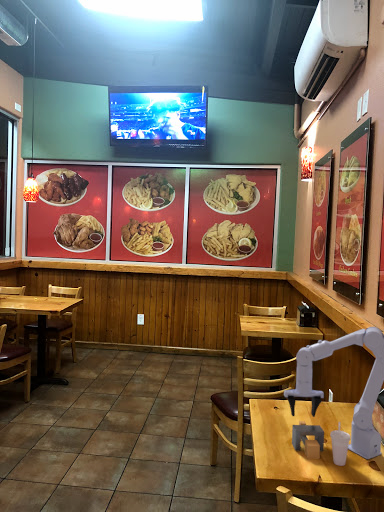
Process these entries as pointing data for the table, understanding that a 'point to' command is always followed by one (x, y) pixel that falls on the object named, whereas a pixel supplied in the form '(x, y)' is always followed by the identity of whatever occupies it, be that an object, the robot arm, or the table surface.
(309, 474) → the table surface
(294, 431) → the housing
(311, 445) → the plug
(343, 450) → the smoothie
